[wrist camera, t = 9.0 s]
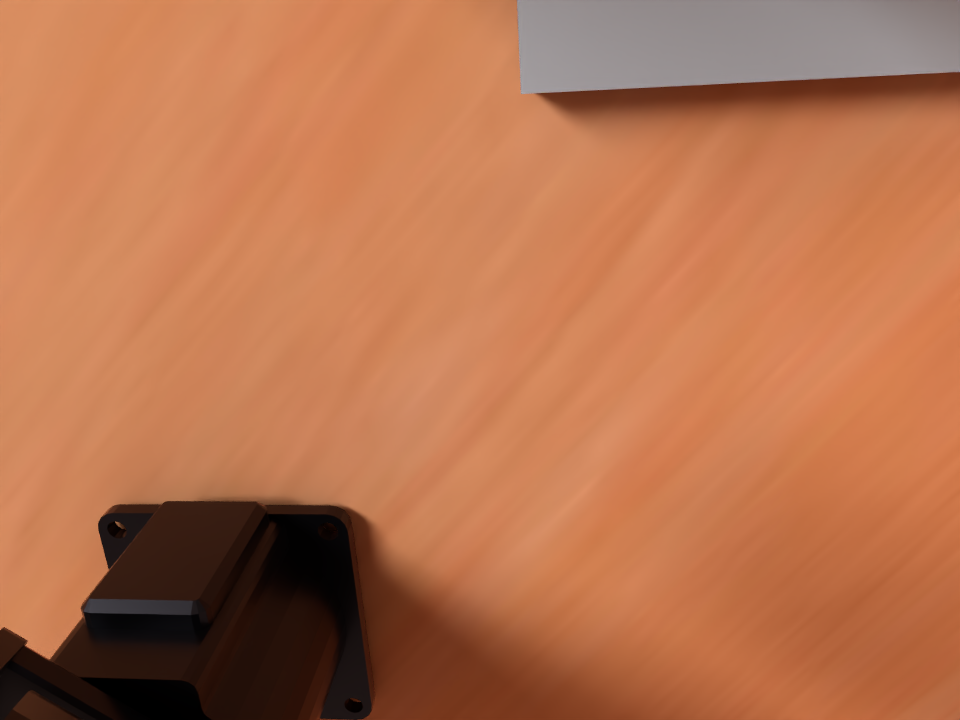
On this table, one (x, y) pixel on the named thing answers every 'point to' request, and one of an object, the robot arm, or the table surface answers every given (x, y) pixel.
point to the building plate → (729, 41)
